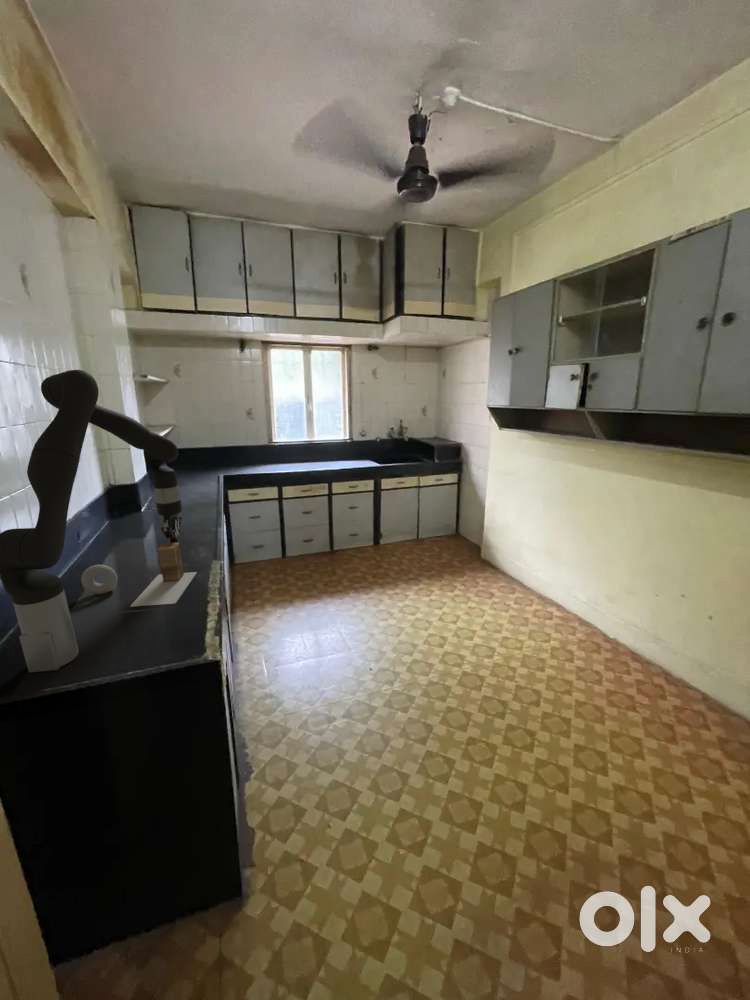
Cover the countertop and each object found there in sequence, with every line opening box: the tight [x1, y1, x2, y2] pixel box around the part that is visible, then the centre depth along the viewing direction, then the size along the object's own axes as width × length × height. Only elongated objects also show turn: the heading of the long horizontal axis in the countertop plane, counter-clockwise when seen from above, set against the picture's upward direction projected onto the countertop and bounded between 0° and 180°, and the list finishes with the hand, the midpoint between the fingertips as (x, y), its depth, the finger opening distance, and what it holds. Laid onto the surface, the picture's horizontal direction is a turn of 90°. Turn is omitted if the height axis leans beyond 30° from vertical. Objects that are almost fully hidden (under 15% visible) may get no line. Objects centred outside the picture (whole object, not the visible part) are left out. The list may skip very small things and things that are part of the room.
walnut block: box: [157, 542, 185, 582], centre depth 137 cm, size 5×5×12 cm
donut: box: [80, 564, 119, 595], centre depth 128 cm, size 10×4×10 cm, turn 105°
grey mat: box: [129, 571, 198, 608], centre depth 132 cm, size 22×13×1 cm, turn 7°
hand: (175, 547), depth 141 cm, fingers closed
